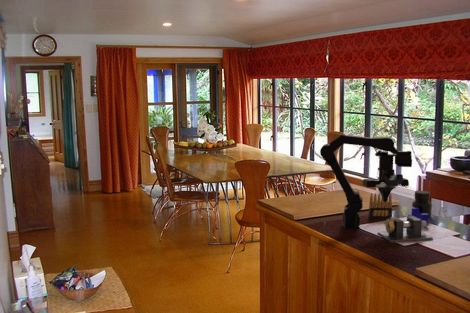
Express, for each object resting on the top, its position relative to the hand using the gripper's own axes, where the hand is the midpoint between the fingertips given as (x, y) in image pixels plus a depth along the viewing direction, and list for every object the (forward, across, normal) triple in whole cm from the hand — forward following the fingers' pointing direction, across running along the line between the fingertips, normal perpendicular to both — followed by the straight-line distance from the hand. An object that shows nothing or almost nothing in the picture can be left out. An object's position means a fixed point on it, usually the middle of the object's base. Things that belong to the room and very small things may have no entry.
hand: (384, 202), depth 219 cm
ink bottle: (+12, +26, +17) cm, 34 cm away
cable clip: (+12, +19, +6) cm, 23 cm away
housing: (+12, +4, -12) cm, 17 cm away
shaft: (+10, +4, -12) cm, 16 cm away
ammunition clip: (+12, +6, +18) cm, 23 cm away
